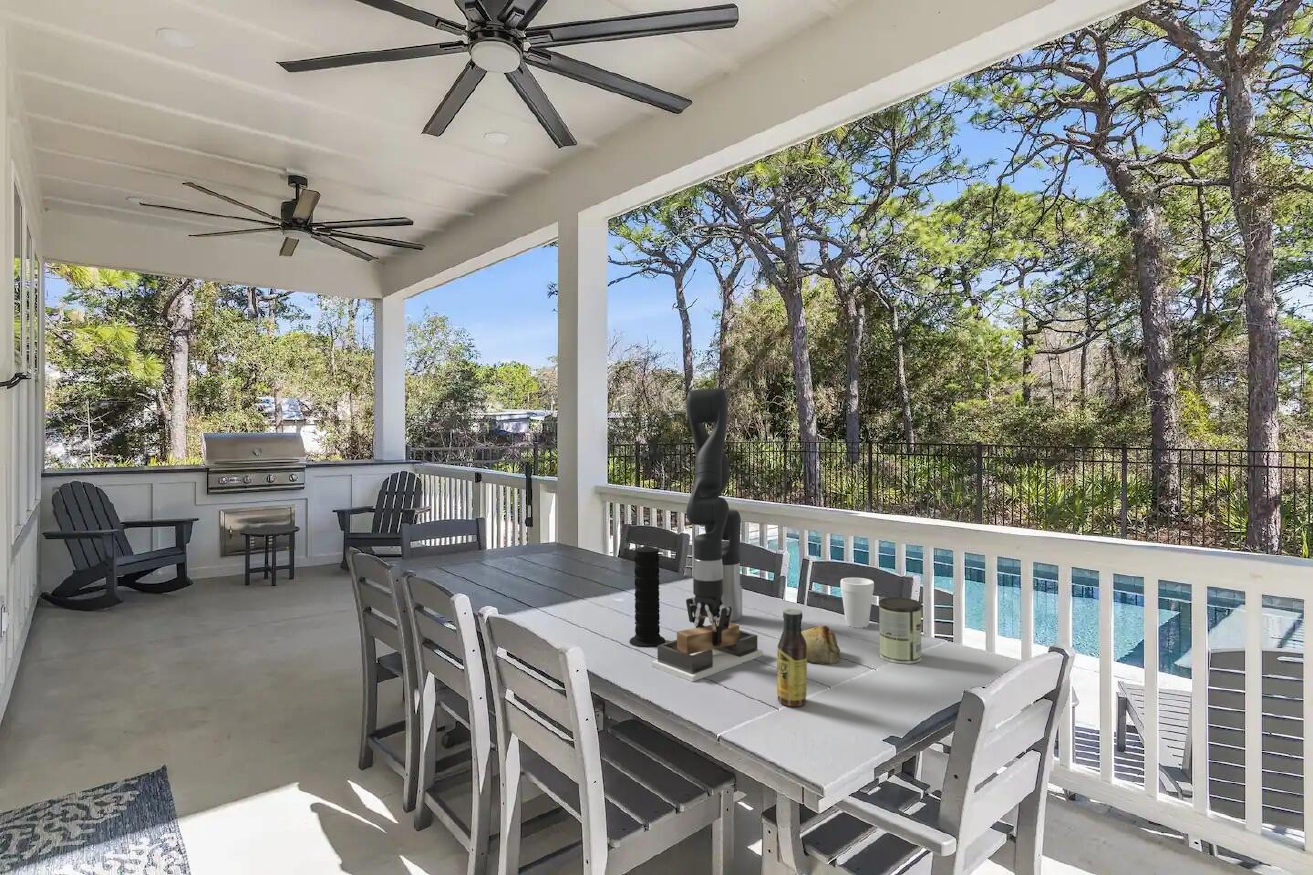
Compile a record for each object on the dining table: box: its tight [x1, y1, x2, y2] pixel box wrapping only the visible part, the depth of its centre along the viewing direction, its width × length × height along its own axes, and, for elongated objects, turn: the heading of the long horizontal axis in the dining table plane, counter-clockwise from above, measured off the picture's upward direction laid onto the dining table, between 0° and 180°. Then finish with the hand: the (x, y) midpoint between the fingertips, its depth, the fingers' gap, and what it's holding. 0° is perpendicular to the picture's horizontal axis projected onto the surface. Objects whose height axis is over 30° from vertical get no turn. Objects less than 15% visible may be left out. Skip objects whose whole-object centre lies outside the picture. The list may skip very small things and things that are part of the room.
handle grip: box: [629, 545, 667, 648], centre depth 188 cm, size 10×26×10 cm
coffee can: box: [878, 596, 923, 665], centre depth 175 cm, size 10×10×14 cm
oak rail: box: [676, 622, 740, 654], centre depth 173 cm, size 16×4×4 cm, turn 121°
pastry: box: [801, 625, 841, 665], centre depth 176 cm, size 14×12×8 cm
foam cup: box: [840, 577, 875, 629], centre depth 202 cm, size 10×9×13 cm
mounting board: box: [651, 648, 764, 682], centre depth 173 cm, size 26×14×1 cm, turn 133°
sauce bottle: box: [776, 608, 808, 708], centre depth 147 cm, size 7×6×20 cm
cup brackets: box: [657, 629, 758, 674], centre depth 173 cm, size 24×12×4 cm, turn 133°
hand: (708, 642), depth 173 cm, fingers closed on oak rail, 5 cm apart
